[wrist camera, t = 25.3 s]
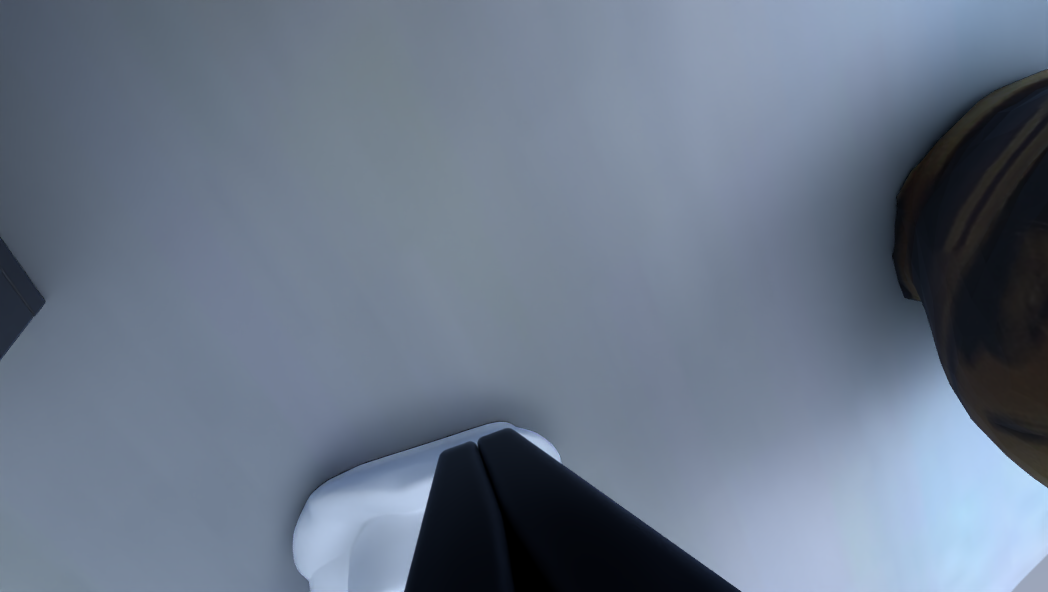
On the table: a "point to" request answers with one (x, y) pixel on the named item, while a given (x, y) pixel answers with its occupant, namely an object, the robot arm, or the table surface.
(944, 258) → the ceramic jug
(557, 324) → the table surface
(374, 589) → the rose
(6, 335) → the mini drawer cabinet
